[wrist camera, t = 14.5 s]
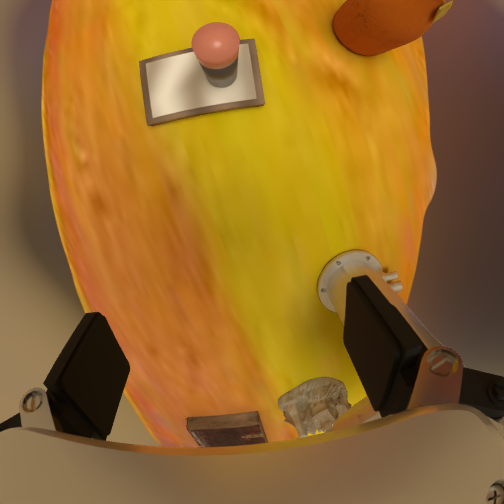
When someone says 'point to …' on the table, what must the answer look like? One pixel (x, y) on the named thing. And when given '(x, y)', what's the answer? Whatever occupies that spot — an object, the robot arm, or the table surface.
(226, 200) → the table surface
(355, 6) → the wine bottle
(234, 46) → the marker
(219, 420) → the hardback book
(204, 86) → the picture frame
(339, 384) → the miniature castle
